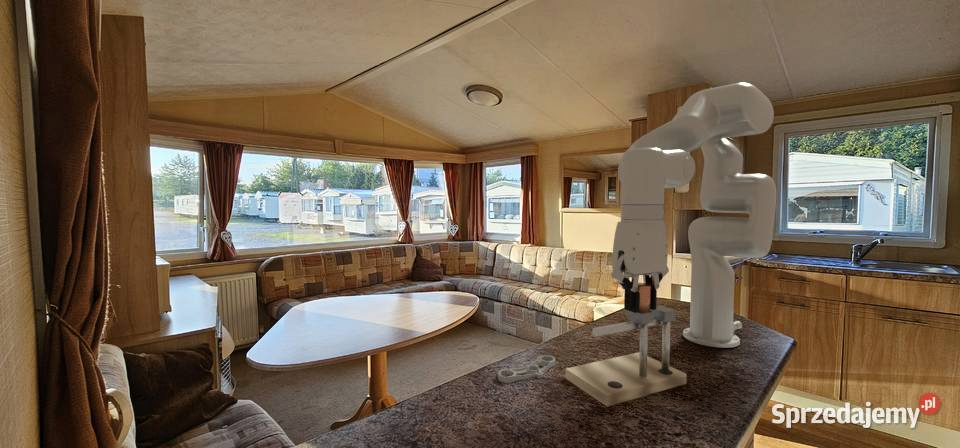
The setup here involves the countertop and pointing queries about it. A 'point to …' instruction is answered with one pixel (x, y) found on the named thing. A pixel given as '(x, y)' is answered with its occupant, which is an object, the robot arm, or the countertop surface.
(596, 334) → the frame
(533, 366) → the bracket
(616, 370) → the board
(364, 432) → the countertop surface
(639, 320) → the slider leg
